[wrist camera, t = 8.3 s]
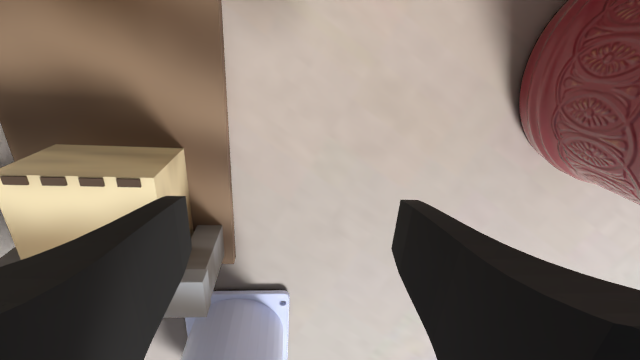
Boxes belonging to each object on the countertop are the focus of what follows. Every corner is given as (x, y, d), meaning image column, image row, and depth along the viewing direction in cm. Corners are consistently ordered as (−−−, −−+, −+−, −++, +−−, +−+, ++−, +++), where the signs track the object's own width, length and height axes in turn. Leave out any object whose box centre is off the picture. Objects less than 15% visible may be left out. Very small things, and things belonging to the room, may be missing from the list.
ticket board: (235, 256, 23) (217, 327, 17) (58, 257, 22) (-24, 333, 16) (219, -36, 16) (178, -81, 10) (-48, -61, 14) (-269, -128, 9)
